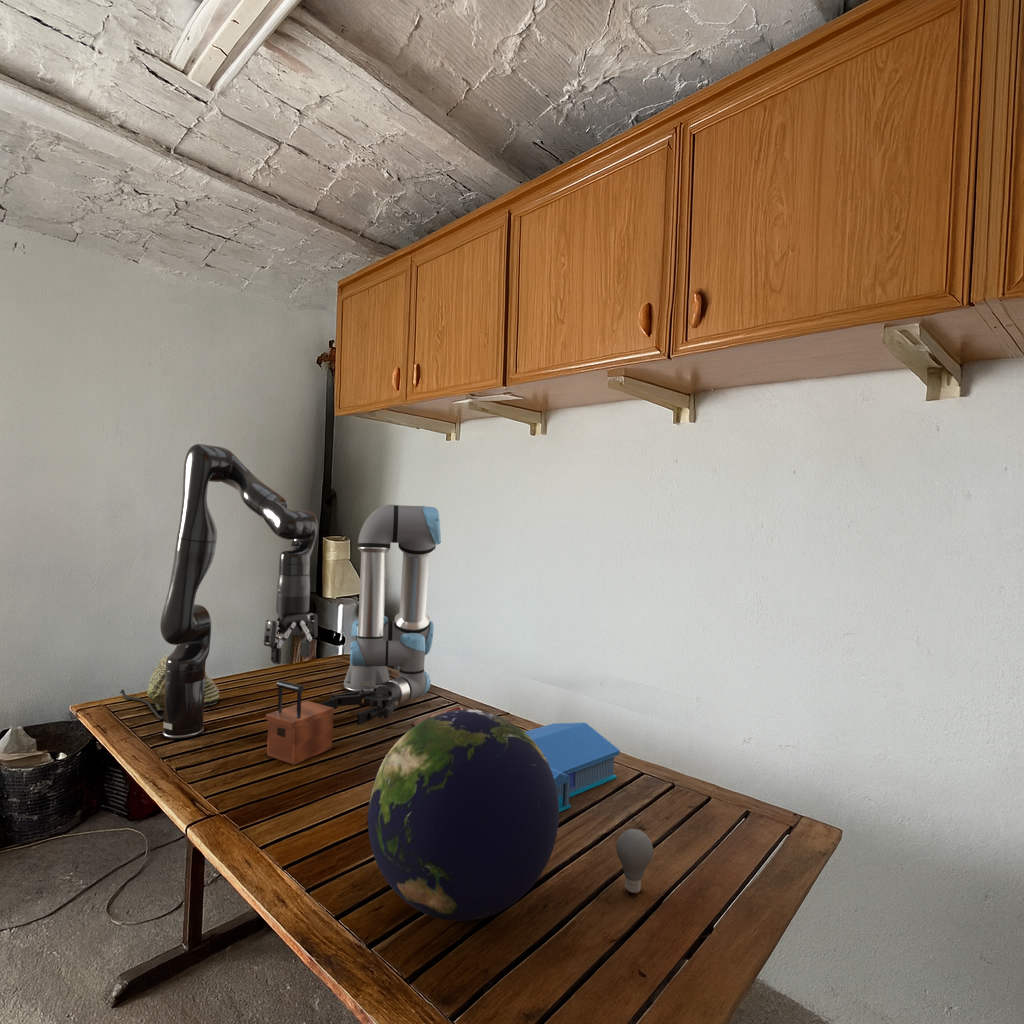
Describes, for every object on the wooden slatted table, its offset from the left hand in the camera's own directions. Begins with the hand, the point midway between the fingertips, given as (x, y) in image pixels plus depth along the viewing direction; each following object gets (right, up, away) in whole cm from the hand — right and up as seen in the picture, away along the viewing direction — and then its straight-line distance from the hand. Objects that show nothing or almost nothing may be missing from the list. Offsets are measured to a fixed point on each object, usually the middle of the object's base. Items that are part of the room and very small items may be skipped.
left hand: (290, 659), depth 152 cm
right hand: (+8, -17, +13) cm, 23 cm away
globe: (+45, -27, -52) cm, 74 cm away
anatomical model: (+32, -25, +27) cm, 49 cm away
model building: (+58, -26, -10) cm, 64 cm away
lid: (+1, -15, +3) cm, 15 cm away
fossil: (-43, -21, +32) cm, 58 cm away
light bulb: (+73, -28, -47) cm, 91 cm away
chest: (+1, -24, +4) cm, 24 cm away
